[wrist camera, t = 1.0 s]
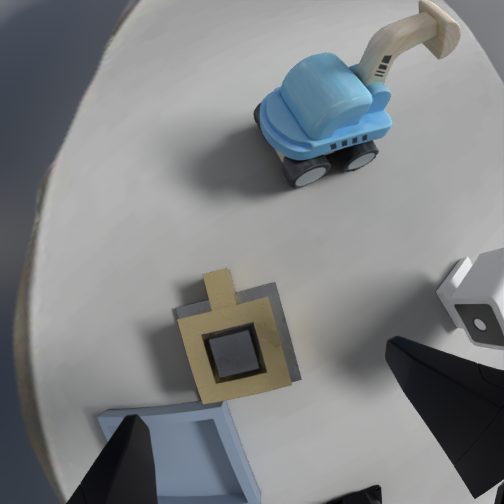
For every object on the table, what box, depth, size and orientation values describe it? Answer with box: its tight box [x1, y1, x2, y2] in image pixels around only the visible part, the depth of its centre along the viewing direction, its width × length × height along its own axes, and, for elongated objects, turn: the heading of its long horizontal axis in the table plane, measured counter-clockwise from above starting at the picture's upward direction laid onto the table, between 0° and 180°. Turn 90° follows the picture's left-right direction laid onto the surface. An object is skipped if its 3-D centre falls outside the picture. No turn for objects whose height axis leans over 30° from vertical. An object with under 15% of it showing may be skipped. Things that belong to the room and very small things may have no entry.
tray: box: [97, 400, 261, 504], centre depth 20 cm, size 13×13×2 cm
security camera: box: [436, 248, 504, 350], centre depth 18 cm, size 6×7×10 cm
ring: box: [177, 268, 292, 404], centre depth 21 cm, size 10×7×4 cm
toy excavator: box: [254, 0, 461, 188], centre depth 18 cm, size 9×17×17 cm, turn 112°
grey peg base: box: [176, 282, 302, 382], centre depth 21 cm, size 9×9×4 cm
